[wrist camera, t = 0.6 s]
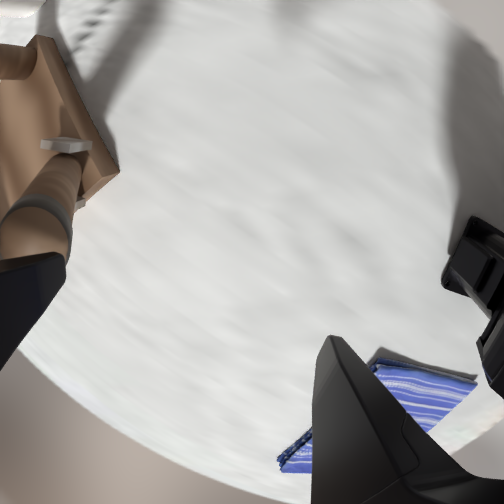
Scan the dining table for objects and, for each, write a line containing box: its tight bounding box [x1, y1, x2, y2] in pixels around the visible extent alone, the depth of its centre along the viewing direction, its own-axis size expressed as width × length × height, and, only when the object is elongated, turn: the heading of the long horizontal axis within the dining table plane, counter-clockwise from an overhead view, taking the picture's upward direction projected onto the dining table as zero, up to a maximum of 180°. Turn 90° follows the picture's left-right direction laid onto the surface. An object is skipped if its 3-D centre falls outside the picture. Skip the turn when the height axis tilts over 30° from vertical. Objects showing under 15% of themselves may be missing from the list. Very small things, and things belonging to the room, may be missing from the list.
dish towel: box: [277, 357, 478, 473], centre depth 28 cm, size 17×24×3 cm
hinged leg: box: [0, 153, 82, 266], centre depth 12 cm, size 3×3×11 cm
